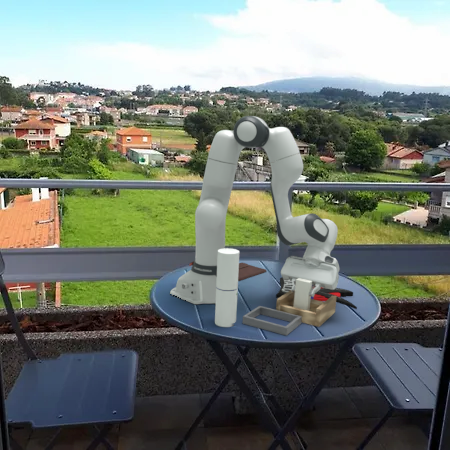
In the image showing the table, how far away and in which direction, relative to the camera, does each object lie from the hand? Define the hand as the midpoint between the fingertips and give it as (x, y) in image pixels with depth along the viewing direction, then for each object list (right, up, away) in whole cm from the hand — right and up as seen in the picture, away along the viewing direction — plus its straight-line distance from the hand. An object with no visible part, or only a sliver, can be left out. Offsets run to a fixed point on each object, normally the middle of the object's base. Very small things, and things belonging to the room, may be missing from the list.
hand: (302, 293), depth 166 cm
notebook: (-20, +1, +54) cm, 57 cm away
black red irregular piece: (+9, -6, +27) cm, 29 cm away
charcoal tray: (-11, -10, -4) cm, 16 cm away
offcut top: (+3, -5, +6) cm, 9 cm away
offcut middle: (+3, -6, +7) cm, 10 cm away
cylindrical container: (-26, -10, -3) cm, 28 cm away
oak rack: (+2, -9, +5) cm, 11 cm away
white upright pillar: (0, -6, +2) cm, 6 cm away
